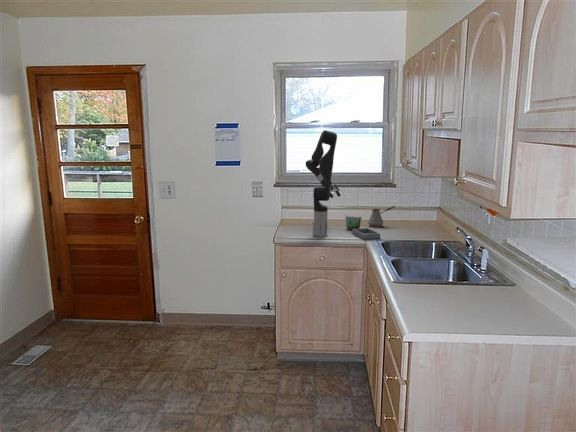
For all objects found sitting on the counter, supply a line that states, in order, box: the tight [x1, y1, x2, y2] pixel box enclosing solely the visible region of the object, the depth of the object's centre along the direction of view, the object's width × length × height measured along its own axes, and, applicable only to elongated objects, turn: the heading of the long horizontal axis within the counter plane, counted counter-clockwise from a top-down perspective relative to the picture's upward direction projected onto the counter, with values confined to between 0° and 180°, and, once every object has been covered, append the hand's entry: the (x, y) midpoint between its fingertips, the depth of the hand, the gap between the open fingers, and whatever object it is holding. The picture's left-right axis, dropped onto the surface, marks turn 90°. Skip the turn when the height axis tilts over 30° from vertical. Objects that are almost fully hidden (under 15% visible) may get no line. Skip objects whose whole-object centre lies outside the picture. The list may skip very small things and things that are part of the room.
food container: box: [344, 215, 363, 232], centre depth 311 cm, size 12×6×10 cm, turn 62°
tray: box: [351, 227, 381, 241], centre depth 293 cm, size 12×18×4 cm, turn 16°
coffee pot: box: [367, 205, 397, 228], centre depth 324 cm, size 21×12×15 cm, turn 99°
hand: (336, 196), depth 318 cm, fingers open, 8 cm apart
